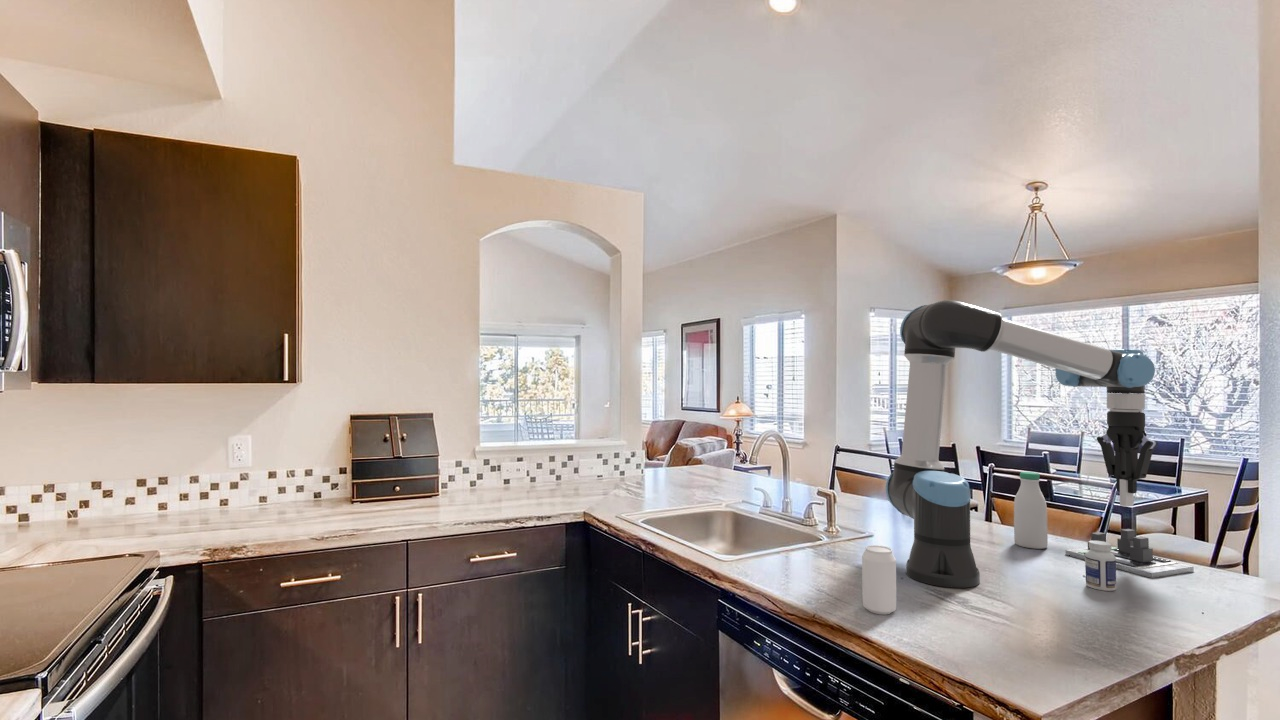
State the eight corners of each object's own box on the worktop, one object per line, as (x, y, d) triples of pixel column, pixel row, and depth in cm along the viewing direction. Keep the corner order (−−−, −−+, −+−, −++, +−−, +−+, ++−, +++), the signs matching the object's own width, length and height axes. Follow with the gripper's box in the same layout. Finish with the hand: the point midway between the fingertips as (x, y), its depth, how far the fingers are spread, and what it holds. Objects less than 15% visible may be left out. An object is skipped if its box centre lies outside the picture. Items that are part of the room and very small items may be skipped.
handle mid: (1143, 562, 147) (1142, 539, 148) (1129, 558, 150) (1129, 536, 150) (1152, 561, 149) (1152, 538, 149) (1139, 557, 151) (1138, 535, 152)
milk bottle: (1052, 550, 163) (1051, 475, 164) (1021, 548, 165) (1019, 474, 166) (1040, 542, 171) (1039, 471, 172) (1009, 541, 173) (1008, 470, 173)
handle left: (1100, 557, 152) (1099, 535, 152) (1087, 554, 154) (1087, 532, 155) (1109, 556, 153) (1109, 534, 153) (1097, 552, 156) (1097, 531, 156)
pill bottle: (1112, 585, 135) (1111, 541, 136) (1119, 593, 131) (1118, 547, 131) (1083, 582, 138) (1082, 538, 138) (1088, 589, 133) (1087, 544, 133)
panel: (1151, 578, 141) (1151, 571, 141) (1065, 554, 159) (1065, 548, 159) (1193, 571, 146) (1193, 565, 146) (1105, 549, 164) (1105, 543, 164)
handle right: (1130, 553, 155) (1129, 531, 155) (1117, 550, 158) (1117, 529, 158) (1139, 552, 156) (1139, 530, 157) (1126, 549, 159) (1126, 528, 159)
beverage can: (894, 618, 116) (893, 554, 116) (860, 612, 119) (859, 550, 119) (898, 608, 121) (897, 547, 122) (865, 602, 124) (864, 542, 125)
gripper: (1165, 412, 148) (1166, 510, 148) (1108, 409, 161) (1109, 499, 160) (1144, 412, 146) (1145, 512, 145) (1088, 409, 158) (1089, 501, 157)
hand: (1126, 505), depth 152 cm, fingers closed
